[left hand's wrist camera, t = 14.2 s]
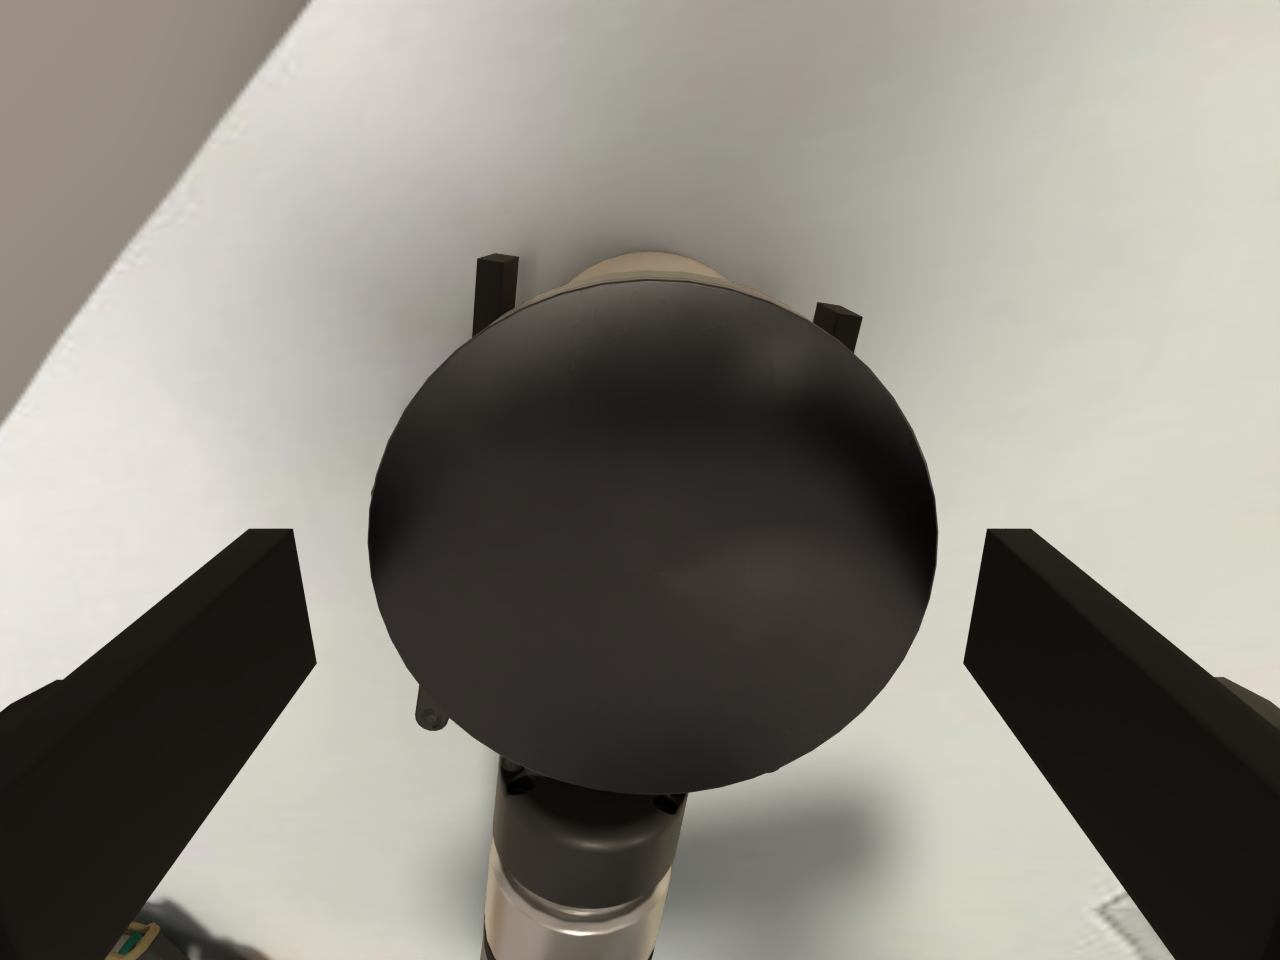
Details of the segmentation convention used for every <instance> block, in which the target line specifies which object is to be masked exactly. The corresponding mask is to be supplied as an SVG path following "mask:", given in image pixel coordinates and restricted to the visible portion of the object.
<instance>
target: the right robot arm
mask: <svg viewBox="0 0 1280 960" xmlns="http://www.w3.org/2000/svg"><path fill="white" fill-rule="evenodd" d="M518 262H519V257H516V256H510V255H503V254H497V253H495V254H492V255H488V256H485V257H481V258H478V259H477V273H476V288H475V303H474V318H473V333H472V338H473V337H474V336H476V335H477V334H478V333H480V332H481V331H482V330H484V329H485V328H486V327H488V326H489V325H490V324H492V323H493V322H494V321H496V320H497V319H498V318H500V317H501V316H502V315H504V314H505V313H507V312H508V311H510V310H512V309H514V308H515V297H516V285H517V274H518ZM862 318H863V317H862V316H860V315H858V314H856V313H854V312H852V311H850V310H848V309H846V308H844V307H842V306H839V305H832V304H826V303H819V302H817V306H816V311H815V315H814V320H813V323H814V324H815V325H817V326H818V327H820V328H821V329H823V330H824V331H826V332H827V333H828V334H830V335H831V336H833V337H834V338H836V339H837V340H839V341H840V342H841V343H842V344H843V345H845V346H846V347H847V348H848V349H849V350H850V351H851V352H852V353H853V354H854V350H855V346H856V342H857V338H858V334H859V330H860V326H861V322H862ZM373 488H374V486H373ZM372 493H373V489H372V491H371V498H372ZM415 717H416V721H417V723H418V724H419V725H420V726H421V727H422V728H424V729H427V730H429V731H437V730H440V729H442V728H443V727H445V726H446V724H447V722H448V719H449V717H448V716H447V715H446V714H445V713H444V712H443V711H442V710H441V709H440V708H439V707H438V706H437V705H436V703H435V702H434V701H433V700H432V699H431V698H430V697H429V696H428V695H427V694H426V693H425V691H424V690H423V689H422V687H421V686H420V685H419V692H418V699H417V706H416V713H415ZM778 769H779V768H777V769H775V770H772V771H770V772H767V773H771V772H774V771H776V770H778ZM687 797H688V793H676V794H661V795H650V794H624V793H617V792H610V791H603V790H596V789H590V788H586V787H582V786H578V785H574V784H570V783H566V782H562V781H559V780H556V779H554V778H551V777H548V776H545V775H543V774H540V773H537V772H535V771H532V770H529V769H527V768H525V767H523V766H521V765H519V764H517V763H515V762H513V761H511V760H509V759H507V758H505V757H503V756H501V755H500V758H499V768H498V778H497V788H496V798H495V809H494V819H493V839H492V843H491V847H490V857H489V869H488V881H487V893H486V905H485V916H484V936H483V943H482V951H481V958H480V960H651V959H652V956H653V952H654V947H655V942H656V939H657V935H658V931H659V927H660V923H661V918H662V914H663V909H664V905H665V900H666V896H667V892H668V887H669V883H670V878H671V870H672V862H673V859H674V856H675V853H676V848H677V843H678V839H679V834H680V829H681V825H682V820H683V815H684V811H685V806H686V801H687Z"/></svg>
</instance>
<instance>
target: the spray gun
mask: <svg viewBox="0 0 1280 960" xmlns="http://www.w3.org/2000/svg"><path fill="white" fill-rule="evenodd" d="M130 930H134V932H133V933H132V934H131V935H130ZM159 931H160V927H159V926H158V925H157V924H156V923H154V922H153V923H150V924H148V925H144V924H140V923H137V922H133V921H132V922H131V924H130V925H129V926H128V928H127V929H126V931H125V932H124V933H123V935H122V936H121V938H120V939H119V940H118V942H117V943H116V945H115V946H114V947H113V949H112V950H111V952H110V953H109V954H108V956H107V957H106V959H105V960H190V959H189V958H187V957H186V956H185V955H184V954H183V953H182V952H181V951H180V950H179V949H178V948H177V947H176V946H175V945H174V944H172V943H171V942H170V941H169V940H168V939H167V938H166V937H165V936H164V935H163V934H162V933H159ZM140 932H141V933H145V936H142V935H141V933H140ZM214 960H217V959H214Z"/></svg>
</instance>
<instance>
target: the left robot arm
mask: <svg viewBox="0 0 1280 960" xmlns="http://www.w3.org/2000/svg"><path fill="white" fill-rule="evenodd" d="M316 664H317V662H316V657H315V651H314V645H313V640H312V634H311V628H310V623H309V617H308V611H307V606H306V600H305V594H304V589H303V583H302V578H301V572H300V566H299V561H298V555H297V549H296V544H295V538H294V532H293V529H248V530H247V531H246V532H244V533H243V534H242V535H241V536H239V537H238V538H237V539H236V540H235V541H233V542H232V543H231V544H230V545H228V546H227V547H226V548H225V549H223V550H222V551H221V552H220V553H219V554H217V555H216V556H215V557H214V558H212V559H211V560H210V561H209V562H207V563H206V564H205V565H204V566H203V567H201V568H200V569H199V570H198V571H196V572H195V573H194V574H193V575H191V576H190V577H189V578H188V579H186V580H185V581H184V582H183V583H182V584H180V585H179V586H178V587H177V588H175V589H174V590H173V591H172V592H170V593H169V594H168V595H167V596H166V597H164V598H163V599H162V600H161V601H159V602H158V603H157V604H156V605H154V606H153V607H152V608H151V609H150V610H148V611H147V612H146V613H145V614H143V615H142V616H141V617H140V618H138V619H137V620H136V621H135V622H134V623H132V624H131V625H130V626H129V627H127V628H126V629H125V630H124V631H122V632H121V633H120V634H119V635H117V636H116V637H115V638H114V639H113V640H111V641H110V642H109V643H108V644H106V645H105V646H104V647H103V648H101V649H100V650H99V651H98V652H97V653H95V654H94V655H93V656H92V657H90V658H89V659H88V660H87V661H85V662H84V663H83V664H82V665H81V666H79V667H78V668H77V669H76V670H74V671H73V672H72V673H71V674H69V675H68V676H67V677H66V678H64V679H63V680H56V681H54V682H52V683H50V684H48V685H46V686H44V687H42V688H40V689H38V690H36V691H35V692H33V693H31V694H29V695H27V696H25V697H23V698H21V699H19V700H17V701H15V702H14V703H12V704H10V705H9V706H8V707H6V708H5V709H4V710H2V711H1V712H0V960H105V959H106V957H107V956H108V954H109V953H110V952H111V950H112V949H113V947H114V946H115V945H116V943H117V942H118V940H119V939H120V938H121V936H122V935H123V933H124V932H125V931H126V929H127V928H128V926H129V925H130V924H131V922H132V921H133V919H134V918H135V917H136V915H137V914H138V912H139V911H140V910H141V908H142V907H143V905H144V904H145V903H146V901H147V900H148V898H149V897H150V896H151V894H152V893H153V891H154V890H155V889H156V887H157V886H158V884H159V883H160V882H161V880H162V879H163V877H164V876H165V875H166V873H167V872H168V871H169V869H170V868H171V866H172V865H173V864H174V862H175V861H176V859H177V858H178V857H179V855H180V854H181V852H182V851H183V850H184V848H185V847H186V845H187V844H188V843H189V841H190V840H191V838H192V837H193V836H194V834H195V833H196V831H197V830H198V829H199V827H200V826H201V824H202V823H203V822H204V820H205V819H206V817H207V816H208V815H209V813H210V812H211V810H212V809H213V808H214V806H215V805H216V803H217V802H218V801H219V799H220V798H221V796H222V795H223V794H224V792H225V791H226V789H227V788H228V787H229V785H230V784H231V782H232V781H233V780H234V778H235V777H236V775H237V774H238V773H239V771H240V770H241V768H242V767H243V766H244V764H245V763H246V761H247V760H248V759H249V757H250V756H251V755H252V753H253V752H254V750H255V749H256V748H257V746H258V745H259V743H260V742H261V741H262V739H263V738H264V736H265V735H266V734H267V732H268V731H269V729H270V728H271V727H272V725H273V724H274V722H275V721H276V720H277V718H278V717H279V715H280V714H281V713H282V711H283V710H284V708H285V707H286V706H287V704H288V703H289V701H290V700H291V699H292V697H293V696H294V694H295V693H296V692H297V690H298V689H299V687H300V686H301V685H302V683H303V682H304V680H305V679H306V678H307V676H308V675H309V673H310V672H311V671H312V669H313V668H314V666H315V665H316ZM963 664H964V665H965V666H966V668H967V669H968V671H969V672H970V673H971V675H972V676H973V678H974V679H975V680H976V682H977V683H978V685H979V686H980V687H981V689H982V690H983V692H984V693H985V694H986V696H987V697H988V699H989V700H990V701H991V703H992V704H993V706H994V707H995V708H996V710H997V711H998V713H999V714H1000V715H1001V717H1002V718H1003V720H1004V721H1005V722H1006V724H1007V725H1008V727H1009V728H1010V729H1011V731H1012V732H1013V734H1014V735H1015V736H1016V738H1017V739H1018V741H1019V742H1020V743H1021V745H1022V746H1023V748H1024V749H1025V750H1026V752H1027V753H1028V755H1029V756H1030V757H1031V759H1032V760H1033V761H1034V763H1035V764H1036V766H1037V767H1038V768H1039V770H1040V771H1041V773H1042V774H1043V775H1044V777H1045V778H1046V780H1047V781H1048V782H1049V784H1050V785H1051V787H1052V788H1053V789H1054V791H1055V792H1056V794H1057V795H1058V796H1059V798H1060V799H1061V801H1062V802H1063V803H1064V805H1065V806H1066V808H1067V809H1068V810H1069V812H1070V813H1071V815H1072V816H1073V817H1074V819H1075V820H1076V822H1077V823H1078V824H1079V826H1080V827H1081V829H1082V830H1083V831H1084V833H1085V834H1086V836H1087V837H1088V838H1089V840H1090V841H1091V843H1092V844H1093V845H1094V847H1095V848H1096V850H1097V851H1098V852H1099V854H1100V855H1101V857H1102V858H1103V859H1104V861H1105V862H1106V864H1107V865H1108V866H1109V868H1110V869H1111V871H1112V872H1113V873H1114V875H1115V876H1116V877H1117V879H1118V880H1119V882H1120V883H1121V884H1122V886H1123V887H1124V889H1125V890H1126V891H1127V893H1128V894H1129V896H1130V897H1131V898H1132V900H1133V901H1134V903H1135V904H1136V905H1137V907H1138V908H1139V910H1140V911H1141V912H1142V914H1143V915H1144V917H1145V918H1146V919H1147V921H1148V922H1149V924H1150V925H1151V926H1152V928H1153V929H1154V931H1155V932H1156V933H1157V935H1158V936H1159V938H1160V939H1161V940H1162V942H1163V943H1164V945H1165V946H1166V947H1167V949H1168V950H1169V952H1170V953H1171V954H1172V956H1173V957H1174V959H1175V960H1280V709H1279V708H1278V707H1277V706H1276V705H1274V704H1273V703H1272V702H1270V701H1269V700H1267V699H1265V698H1263V697H1261V696H1259V695H1257V694H1255V693H1253V692H1251V691H1249V690H1248V689H1246V688H1244V687H1242V686H1240V685H1238V684H1236V683H1234V682H1232V681H1230V680H1228V679H1226V678H1224V677H1213V676H1212V675H1211V674H1209V673H1208V672H1207V671H1206V670H1204V669H1203V668H1202V667H1201V666H1199V665H1198V664H1197V663H1196V662H1195V661H1193V660H1192V659H1191V658H1190V657H1188V656H1187V655H1186V654H1185V653H1183V652H1182V651H1181V650H1180V649H1179V648H1177V647H1176V646H1175V645H1174V644H1172V643H1171V642H1170V641H1169V640H1167V639H1166V638H1165V637H1164V636H1163V635H1161V634H1160V633H1159V632H1158V631H1156V630H1155V629H1154V628H1153V627H1151V626H1150V625H1149V624H1148V623H1146V622H1145V621H1144V620H1143V619H1142V618H1140V617H1139V616H1138V615H1137V614H1135V613H1134V612H1133V611H1132V610H1130V609H1129V608H1128V607H1127V606H1126V605H1124V604H1123V603H1122V602H1121V601H1119V600H1118V599H1117V598H1116V597H1114V596H1113V595H1112V594H1111V593H1110V592H1108V591H1107V590H1106V589H1105V588H1103V587H1102V586H1101V585H1100V584H1098V583H1097V582H1096V581H1095V580H1093V579H1092V578H1091V577H1090V576H1089V575H1087V574H1086V573H1085V572H1084V571H1082V570H1081V569H1080V568H1079V567H1077V566H1076V565H1075V564H1074V563H1073V562H1071V561H1070V560H1069V559H1068V558H1066V557H1065V556H1064V555H1063V554H1061V553H1060V552H1059V551H1058V550H1057V549H1055V548H1054V547H1053V546H1052V545H1050V544H1049V543H1048V542H1047V541H1045V540H1044V539H1043V538H1042V537H1041V536H1039V535H1038V534H1037V533H1036V532H1034V531H1033V530H1032V529H987V532H986V538H985V544H984V549H983V555H982V561H981V566H980V572H979V577H978V583H977V589H976V594H975V600H974V606H973V611H972V617H971V623H970V628H969V634H968V640H967V645H966V651H965V657H964V662H963Z"/></svg>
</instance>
